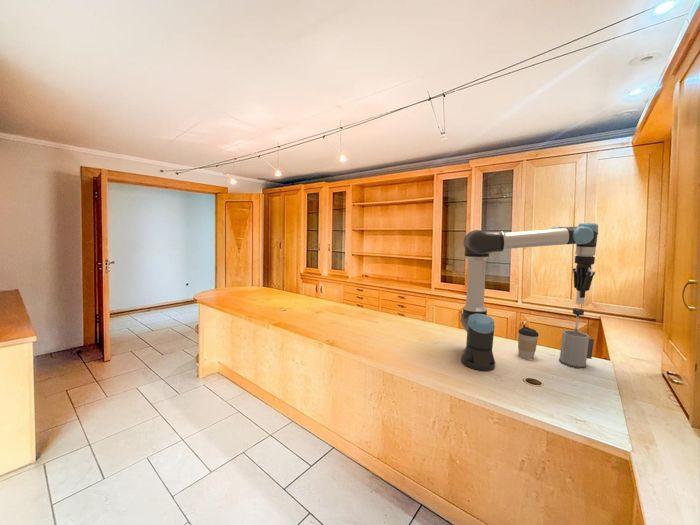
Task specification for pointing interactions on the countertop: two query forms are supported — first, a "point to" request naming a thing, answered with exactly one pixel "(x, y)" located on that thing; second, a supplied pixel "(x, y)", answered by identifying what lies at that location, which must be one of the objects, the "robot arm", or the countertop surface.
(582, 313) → the plunger
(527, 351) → the coffee cup
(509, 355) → the countertop surface
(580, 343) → the press beaker
